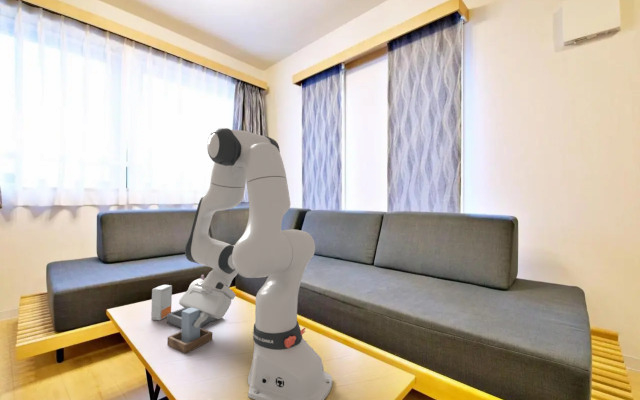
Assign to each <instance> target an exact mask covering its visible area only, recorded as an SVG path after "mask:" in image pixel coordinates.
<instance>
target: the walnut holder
mask: <svg viewBox="0 0 640 400" xmlns="http://www.w3.org/2000/svg"><path fill="white" fill-rule="evenodd" d="M212 340H213V332H212V331H209V330H208V329H205V328H203V327H201V328H200V337H199V338H197V339H195V340H193V341H191V342H189V343H184V342H182V341H181V331H178V332H176V333H174V334H172V335H169V336H167V346H169V347H171V348H173V349H175V350H177V351H180V352H182V353H183V354H188V353H190V352H191V351H194V350H195V349H197V348H200V347H201V346H203V345H206V344H207V343H209V342H211V341H212Z"/></svg>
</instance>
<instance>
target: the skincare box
mask: <svg viewBox="0 0 640 400" xmlns="http://www.w3.org/2000/svg"><path fill="white" fill-rule="evenodd" d="M172 293H173V285H171V284H170V285H169V284H162V285H158V286H157V287H154V288H152V289H151V312H150V313H151V316H150V319H151V320H155V321H162V320H163V319H165V318H167V314H168V313H171V312H172V301H173V299H172V295H173V294H172Z"/></svg>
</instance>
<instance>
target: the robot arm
mask: <svg viewBox="0 0 640 400" xmlns="http://www.w3.org/2000/svg"><path fill="white" fill-rule="evenodd" d="M280 152H281V151H280V146H279V143H278V142H277V140H275V139H274V138H272V137H269V136H267V135H260V134H257V133H254V132H250V131H248V130H240V129H231V128H228V127H227V128H225V127H223V128H222V127H220V128H216V129H214V130H212V132H211V133H210V134H209V137H208V139H207V154H208V155H209V158H210V160H211V161H212V162H213V165H212V166H213V167H212V170H211V176H210V184H209V188H208V191H207V192H206V193H205V194H203V195H202V196H201V197H200V199H199V202H198V204H197V208H196V210H195V211H196V212H195V215H194V219H193V223H192V227H191V231H190V234H189V237H188V240H187V241H186V244H185V247H184V254H185V257H186V259H187V260H188V261H189V262H191V263H195V264H199V265H202V266H205V267H207V268H210V269H211V268H212V270H211V271H209V272H208V273H207V275H206V277H204V278H205V280H204V281H203V282H202V284H201V283H197V284H195V285H193V286H192V287H190V288H189V287H188V288H189V289H187V290H186V292H185V293H184V294H183V295H182V296H181V297H180V298H179V302H178V304H179V305H180V306H182V308H187V309H188V308H191V307H193V308H196V309H199V311H200V313H201V316H200V317H199V318H198V319H197V320H194V322H193V323H192V326H193V327H196V328H198V327H199V325H200V324H201V323H202V322H203V321H205V320H206V319H207V318H208V316H211V317H214V318H217V319H219V320H221V319H223V318H224V316H225V315H226V313H227V311H228V310H229V308H230V306H231V305H232V300H235V297H236V293H235V292H234V291H233V290H232V289H231V288H230V286H231V284H232V281H233V280H234V278H235V277H236V276H238V274H239V276H241V277H243V278H246V279H255V278H258V279H260V278H265V277H267V278H266V280H265V282H264V284H263V285H262V286H261V287H260V289H259V290H258V291H257V293H256V296H255V311H254V312H255V317H254V318H255V319H254V320H255V321H254V323H253V331H252V340H253V342H254V343H253V345H254V346H253V353H252V362H251V365H250V370H249V373H248V377H247V383H248V386H249V388H248V393H247V395H248V398H250V399H253V400H325V399H327V397H328V395H329V394H330V391H331V390H332V387H333V377H332V375H331V374H330V373H328V372H326V371H324V363H323V361H322V358H321V356H320V355H319V354H318V353H317V352H316V351H315V349H314V348H313V347H311V345H310V344H309V343H308V342H307V341H306V340H305V339H304V338H303V334H304V333H306V331H305V330H306V327H303V328H302V329H301V327H300V324H299V322H298V300H299V299H298V298H299V291H300V288H301V284H302V280H303V277H304V274H305V271H306V268H307V266H308V264H309V263H310V261H311V260H312V258H313V257H314V255H315V253H316V244H315V243H316V242H315V240H314V239H313V237H312V235H311V234H310V233H309V232H307V231H304V230H299V229H293V228H292V229H290V228H289V229H283V230H282V222H283V218H284V216H285V214H287V212H288V211H289V210H290V209H291V198H290V192H289V186H288V180H287V173H286V168H285V165H284V161H283V159H282V156H281V153H280ZM245 189H247V190H246V191H247V197H248V206H249V207H248V208H249V211H248V213H249V214H248V220H247V224H246V227H245V230H244V232H243V233H242V235H241V237H240V238H239V239H238V240H237V241H236V242H235V244H230V243H227V242H225V241H223V240H218V239H215V238H212V237H211V236H210V235H209V232H210V231H209V230H210V226H211V224H212V219H213V216H214V214H215V213H216V212H221V211H227V210H231V209H234V208H235V207H237V206H239V204H241V202H242V201H243V199H244V195H245Z"/></svg>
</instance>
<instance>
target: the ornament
mask: <svg viewBox="0 0 640 400" xmlns="http://www.w3.org/2000/svg"><path fill="white" fill-rule="evenodd" d="M205 278H206V277H205V274H201V276H200V278H197V279H195V280H193V281H191V283H190V284H189V287H188V289H189V288H190V287H192V286H193V285H195V284H197V283H201V284H202V282H203V281H204V280H205ZM188 289H187V290H188Z"/></svg>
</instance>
